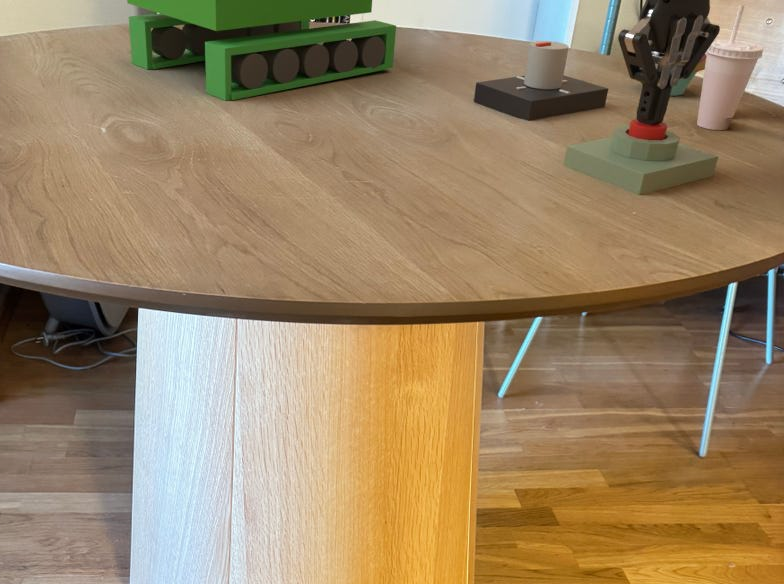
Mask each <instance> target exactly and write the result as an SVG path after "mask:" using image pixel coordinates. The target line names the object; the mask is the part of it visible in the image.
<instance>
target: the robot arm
mask: <svg viewBox="0 0 784 584" xmlns="http://www.w3.org/2000/svg"><path fill="white" fill-rule="evenodd" d="M710 10H711V0H645V2H644V4H643V6H642V7H641V10H640V12H639V21H638V23H636V25H634V26H633V28H631V30H629V29H621V31H620V32H619V33H618V37H617V39H618V40H617V41H618V43H619V47H620V50H621V52H622V56H623V59H624V62H625V66H626V69H627V72H628V75H629V78H630V79H631V80H633V81H637V82H639V83H640V84H641V92H640V97H639V101H638V106H637V109H636V119H637V120H638V121H639V122H641V123H644V124H647V125H654V124H659V123H662V122H663V121H664V120H665V115H666V113H667V109H668V106H669V101H670V99H671V98H670V97H671V96H670V94H671V90H672V87H675V86H676V85H677V83H678V81H679V79H681V78H684V79H687V78H688V77H689V76H690V75H691V73H692V72H693V70H694V69H695V67H696V66H697V64H698V63H699V62H700V60H701V59H702V57H703V56H704V54H707V52H706V51H707V50H708V48H709V47H710V46H711V44H712V43H713V41H714V40H716V38H717V37H718V36H719V34H720V29H721V26H720V25H718V24H715V23H712V22H711V21H710V19H709V14H710V12H711V11H710ZM684 63H685V65H683V64H684Z"/></svg>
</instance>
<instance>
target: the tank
mask: <svg viewBox="0 0 784 584" xmlns="http://www.w3.org/2000/svg"><path fill="white" fill-rule="evenodd" d="M126 3H127V4H128V5H131V6H135V7H138V8H140V9H144V10H148V11H150V12H153V13H152V14H151V13H150V14H143V15H142V14H140V15H132V16H128V25H129V26H128V27H129V38H130V39H129V41H130V43H129V44H130V53H131V54H130V55H131V56H130V57H131V64H133V65H134V66H137V67H139V68H143V69H145V70H156V69H163V68H170V67H176V66H181V65H188V64H193V63H200V62H204V63H205V93H206V94H208V95H211V96H213V97H215V98H218V99H221V100H223V101H231V100H232V101H236V100H240V99H246V98H250V97H255V96H259V95H265V94H271V93H275V92H276V93H277V92H281V91H285V90H289V89H291V90H292V89H295V88H300V87H305V86H310V85H316V84H321V83H324V82H325V83H326V82H330V81H334V80H335V81H336V80H339V79H344V78H345V79H346V78H350V77H354V76H355V77H356V76H360V75H365V74H371V73H376V72H380V71H385V70H391V69H394V56H395V47H396V45H395V44H396V34H397V25H396V24H391V23H388V22H383V21H380V20H374V19H373V20H367V21H359V22H351V23H341V24H335V25H327V26H320V27H311V28H310V21H312V20H320V19H326V18H327V19H329V18H337V17H346V16H353V15H362V14H371V13H372V9H373V0H126ZM177 26H182V28H180V27H177ZM290 48H292V49H290ZM259 52H261V53H259ZM153 53H154V55H153Z"/></svg>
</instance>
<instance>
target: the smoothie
mask: <svg viewBox="0 0 784 584" xmlns="http://www.w3.org/2000/svg"><path fill="white" fill-rule="evenodd" d="M744 9H745V4H739V5H738V9H737V13H736V15H735V19H734V24H733V27H732V31H731V34H730V37H729V39H715V40H714V41H713V43H712V44H711V46H710V47H709V48H708V50H707V51H706V56H707V57H706V63H705V69H704V70H703V78H702V84H701V93H700V98H699V106H698V114H697V119H696V125H697V126H698V127H700V128H703V129H707V130H712V131H713V130H714V131H725V130H728V129H729V127H730V125H731V123H732V121H733V120H732V119H731V118H734V116H735V113H736V112H737V109H738V106H739V104H740V103H741V99H742V97H743V95H744V93H745V91H746V88H747V86H748V83H749V81H750V79H751V76H752V74H753V72H754V70H755V68H756V66H757V63H758V60H759V59H761V58H762V57H763V53H764V50H765V49H764V47H763V46H761V45H759V44H757V43H753V42H749V41H742V40H737V39H736V37H737V34H738V30H739V27H740V23H741V21H742V16H743V13H744Z"/></svg>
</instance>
